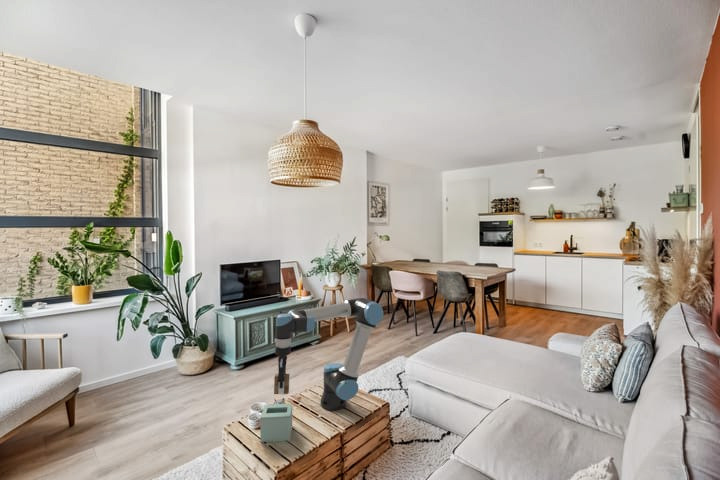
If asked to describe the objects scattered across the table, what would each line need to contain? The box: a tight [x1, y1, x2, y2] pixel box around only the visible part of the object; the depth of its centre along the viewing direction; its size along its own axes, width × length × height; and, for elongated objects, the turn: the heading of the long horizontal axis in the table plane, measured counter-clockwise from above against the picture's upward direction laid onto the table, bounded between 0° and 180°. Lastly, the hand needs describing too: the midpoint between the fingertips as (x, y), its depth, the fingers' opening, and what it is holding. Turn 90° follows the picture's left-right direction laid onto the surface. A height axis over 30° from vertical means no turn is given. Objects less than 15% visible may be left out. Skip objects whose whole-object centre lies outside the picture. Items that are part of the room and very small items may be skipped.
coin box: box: [259, 402, 293, 443], centre depth 173 cm, size 14×12×12 cm
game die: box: [273, 397, 286, 404], centre depth 191 cm, size 9×8×10 cm
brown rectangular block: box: [273, 373, 290, 395], centre depth 174 cm, size 7×3×9 cm, turn 96°
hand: (281, 392), depth 174 cm, fingers closed on brown rectangular block, 3 cm apart
